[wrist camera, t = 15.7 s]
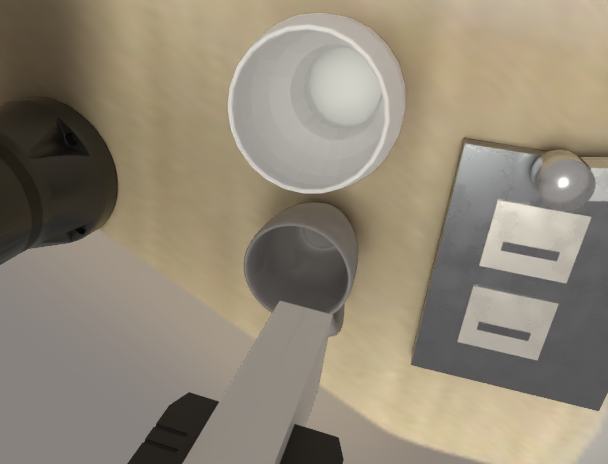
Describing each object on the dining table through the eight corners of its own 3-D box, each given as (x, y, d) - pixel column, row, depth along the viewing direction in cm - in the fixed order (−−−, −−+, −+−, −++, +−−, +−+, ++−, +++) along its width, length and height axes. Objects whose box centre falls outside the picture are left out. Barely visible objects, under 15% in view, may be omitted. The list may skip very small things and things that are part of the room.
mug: (265, 198, 48) (225, 237, 39) (352, 173, 44) (329, 210, 36) (306, 304, 51) (279, 362, 43) (390, 289, 48) (378, 348, 39)
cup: (423, 135, 42) (413, 191, 28) (303, 154, 45) (244, 213, 32) (404, -2, 38) (383, -12, 25) (276, 31, 41) (196, 37, 28)
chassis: (412, 352, 50) (410, 367, 48) (464, 138, 41) (465, 144, 39) (593, 396, 47) (600, 414, 45) (693, 174, 38) (708, 183, 36)
